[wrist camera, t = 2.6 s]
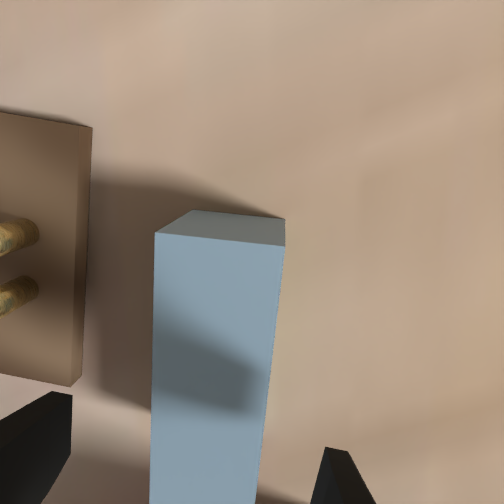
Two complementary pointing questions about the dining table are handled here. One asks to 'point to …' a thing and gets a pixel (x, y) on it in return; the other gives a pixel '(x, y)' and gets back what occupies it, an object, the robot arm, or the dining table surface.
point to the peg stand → (43, 247)
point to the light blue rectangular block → (212, 354)
